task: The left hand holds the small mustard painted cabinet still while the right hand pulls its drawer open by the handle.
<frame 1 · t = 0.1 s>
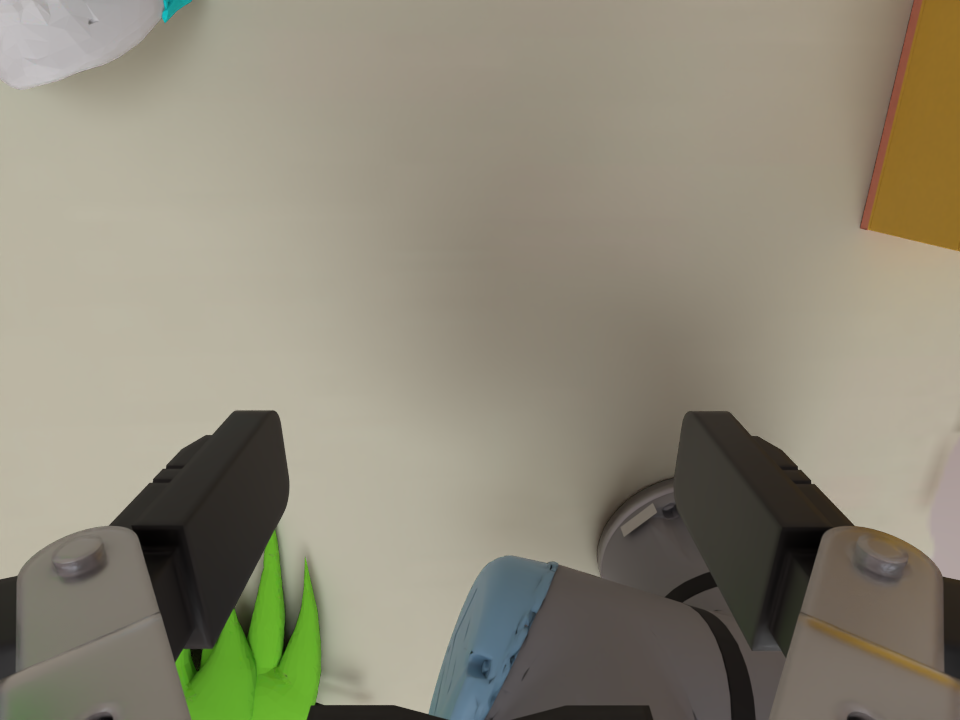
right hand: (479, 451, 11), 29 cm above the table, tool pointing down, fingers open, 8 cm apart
toy 2: (240, 624, 52), on the table
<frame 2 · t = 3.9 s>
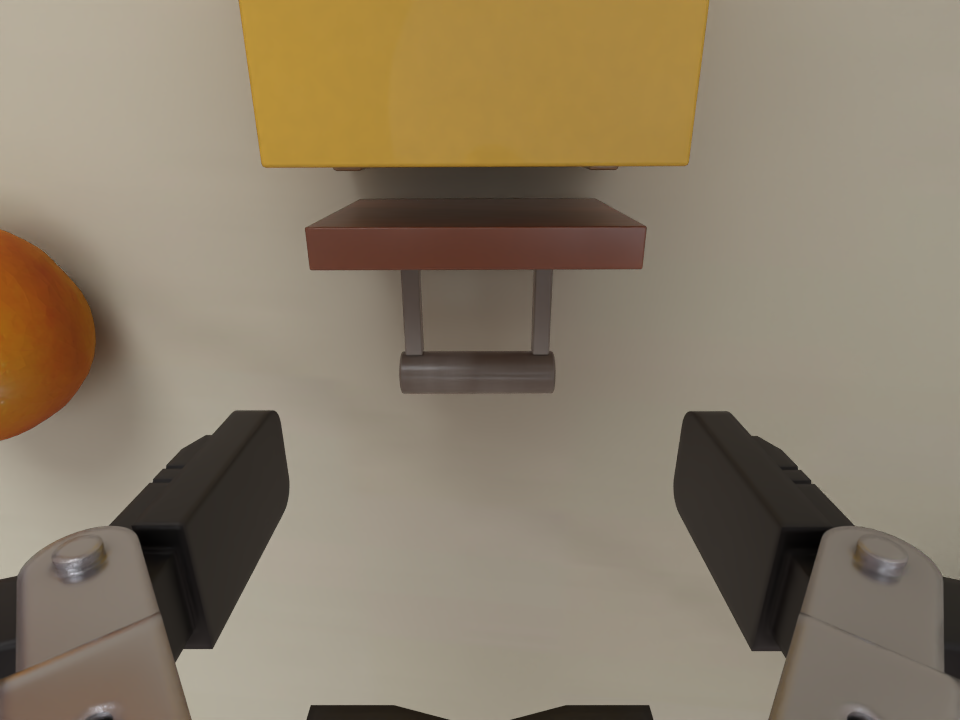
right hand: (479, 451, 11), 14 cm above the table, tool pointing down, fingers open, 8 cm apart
drawer: (475, 11, 17), point 5 cm above the table, slide at 1.6 cm
fruit: (32, 307, 25), on the table
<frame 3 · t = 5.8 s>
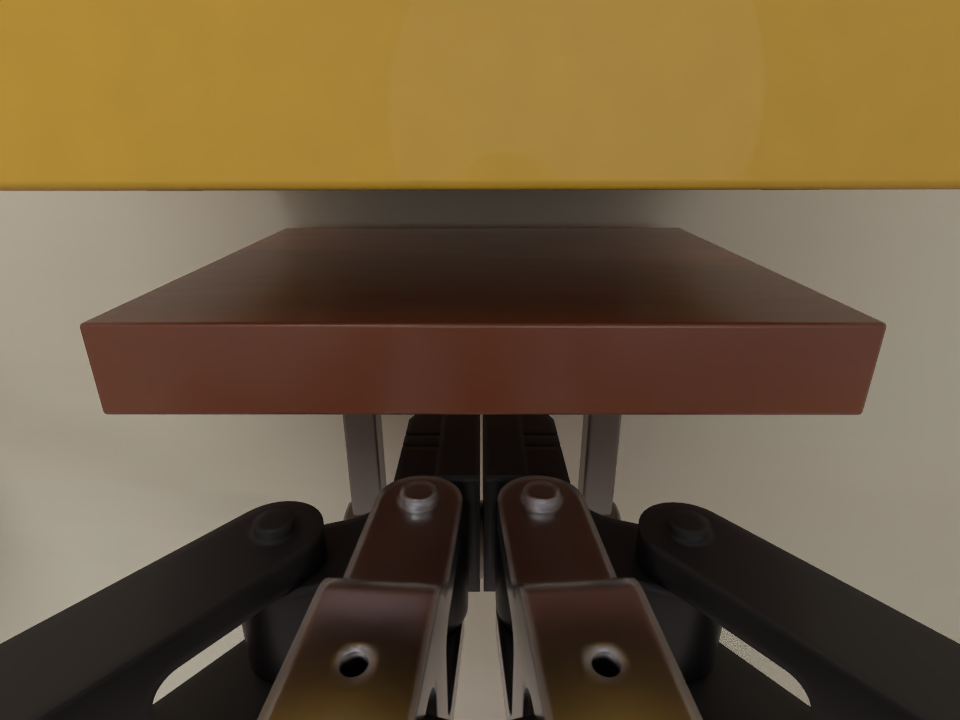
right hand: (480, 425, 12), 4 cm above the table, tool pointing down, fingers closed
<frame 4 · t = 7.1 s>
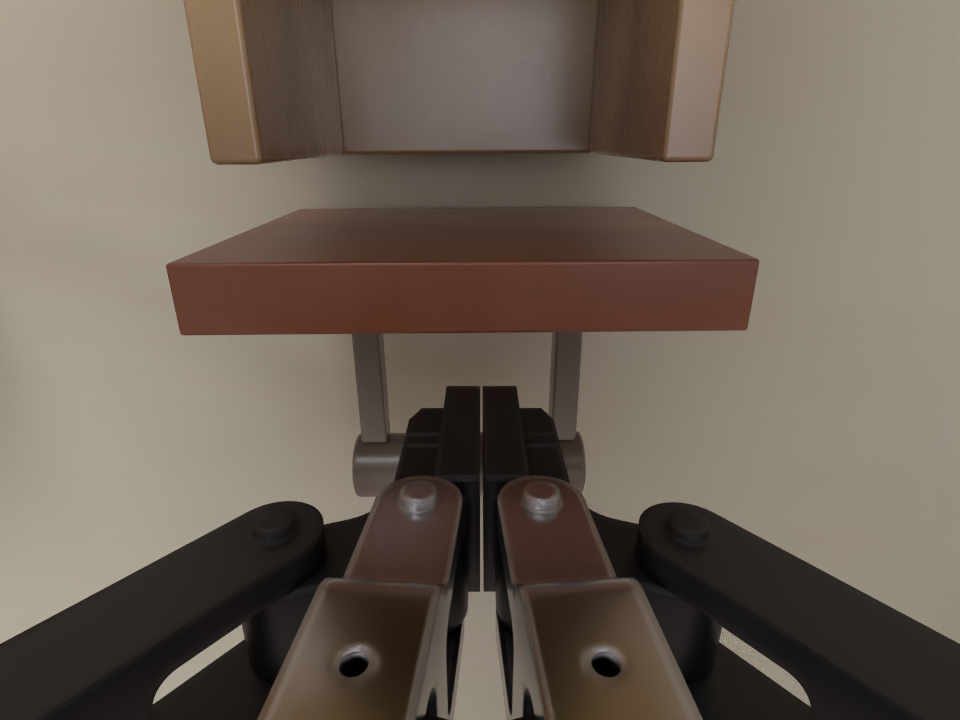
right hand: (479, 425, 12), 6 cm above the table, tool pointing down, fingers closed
when the left hand's fingers open (5 cm above the table, at t = 8.5 s): cabinet stays where it is, on the table.
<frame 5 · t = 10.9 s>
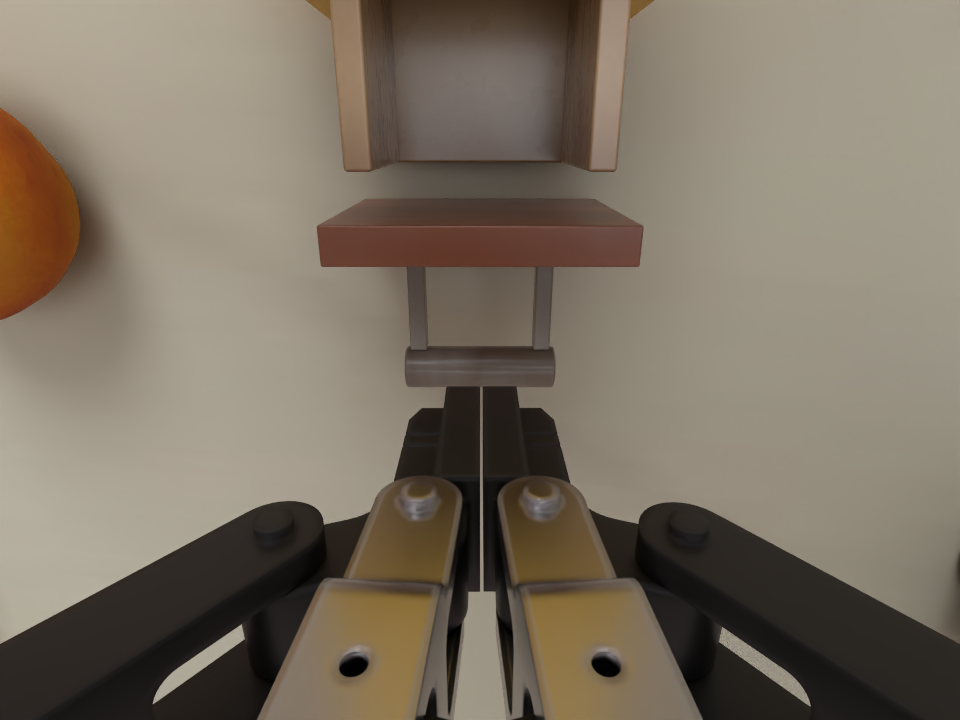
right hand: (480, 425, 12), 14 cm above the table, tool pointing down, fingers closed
drawer: (480, 19, 17), point 5 cm above the table, slide at 6.2 cm
fruit: (14, 198, 24), on the table
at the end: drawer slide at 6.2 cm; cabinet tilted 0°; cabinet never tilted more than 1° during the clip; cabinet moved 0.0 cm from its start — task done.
